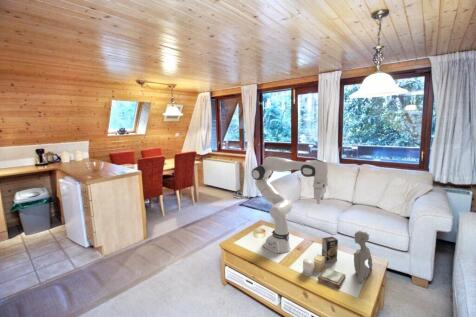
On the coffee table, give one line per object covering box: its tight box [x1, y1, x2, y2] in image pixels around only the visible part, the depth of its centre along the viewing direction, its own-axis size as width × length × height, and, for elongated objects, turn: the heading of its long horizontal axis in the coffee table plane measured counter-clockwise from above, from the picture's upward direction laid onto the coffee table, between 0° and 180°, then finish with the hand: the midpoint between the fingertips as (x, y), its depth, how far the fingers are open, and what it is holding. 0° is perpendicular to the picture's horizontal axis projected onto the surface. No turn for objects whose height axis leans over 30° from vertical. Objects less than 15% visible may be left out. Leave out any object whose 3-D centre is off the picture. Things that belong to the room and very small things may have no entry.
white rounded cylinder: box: [302, 258, 315, 277], centre depth 163 cm, size 7×7×8 cm
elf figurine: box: [353, 230, 373, 285], centre depth 159 cm, size 23×10×30 cm, turn 135°
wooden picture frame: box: [317, 267, 346, 289], centre depth 156 cm, size 13×13×3 cm
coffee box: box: [321, 235, 339, 263], centre depth 177 cm, size 9×6×16 cm
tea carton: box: [313, 253, 326, 273], centre depth 167 cm, size 5×7×8 cm
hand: (320, 201), depth 168 cm, fingers open, 8 cm apart
